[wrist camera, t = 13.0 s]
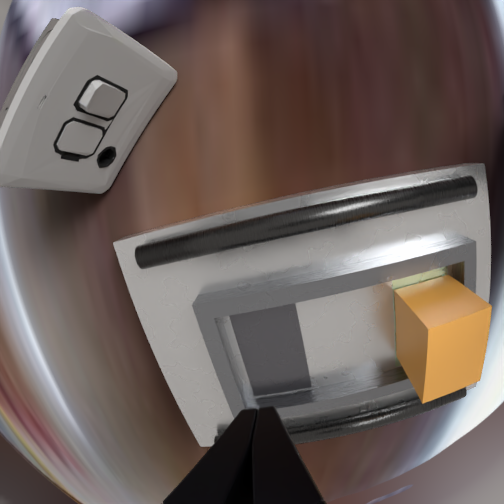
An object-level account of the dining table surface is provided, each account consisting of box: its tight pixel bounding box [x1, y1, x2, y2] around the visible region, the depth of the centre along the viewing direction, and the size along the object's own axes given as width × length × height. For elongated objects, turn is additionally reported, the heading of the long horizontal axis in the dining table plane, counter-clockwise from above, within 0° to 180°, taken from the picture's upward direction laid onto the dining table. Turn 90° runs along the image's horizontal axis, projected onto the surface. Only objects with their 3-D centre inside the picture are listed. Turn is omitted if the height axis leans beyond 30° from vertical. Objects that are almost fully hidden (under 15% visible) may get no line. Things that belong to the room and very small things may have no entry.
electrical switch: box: [0, 7, 177, 194], centre depth 13 cm, size 9×5×9 cm, turn 144°
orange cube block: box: [394, 275, 492, 404], centre depth 15 cm, size 4×5×5 cm
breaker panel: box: [113, 163, 491, 447], centre depth 19 cm, size 24×18×4 cm
